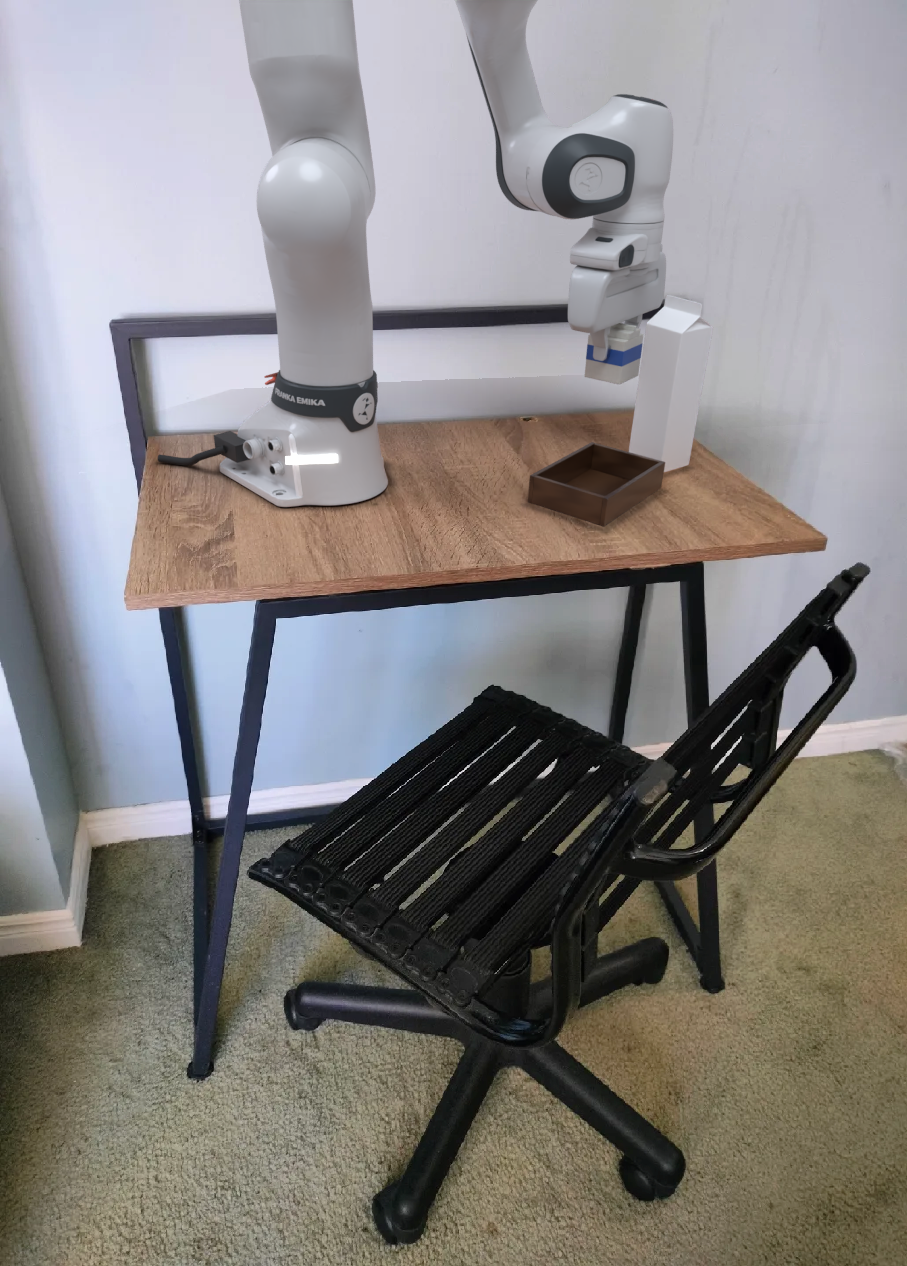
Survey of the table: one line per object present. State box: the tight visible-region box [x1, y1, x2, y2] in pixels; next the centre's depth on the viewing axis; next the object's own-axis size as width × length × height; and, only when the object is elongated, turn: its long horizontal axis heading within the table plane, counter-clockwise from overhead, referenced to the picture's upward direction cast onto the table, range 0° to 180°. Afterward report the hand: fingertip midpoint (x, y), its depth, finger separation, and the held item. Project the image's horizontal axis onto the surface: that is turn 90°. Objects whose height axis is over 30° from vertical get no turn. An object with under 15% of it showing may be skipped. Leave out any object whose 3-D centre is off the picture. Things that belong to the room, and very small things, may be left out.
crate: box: [527, 441, 665, 528], centre depth 115 cm, size 11×15×4 cm
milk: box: [628, 294, 714, 473], centre depth 120 cm, size 6×6×22 cm
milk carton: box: [584, 322, 644, 386], centre depth 123 cm, size 5×5×7 cm
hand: (613, 353), depth 123 cm, fingers closed on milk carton, 5 cm apart
